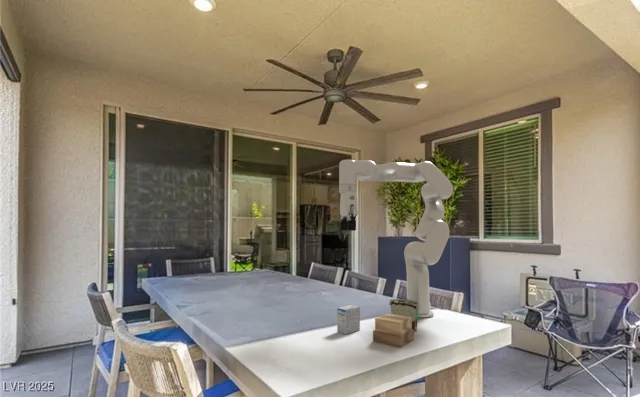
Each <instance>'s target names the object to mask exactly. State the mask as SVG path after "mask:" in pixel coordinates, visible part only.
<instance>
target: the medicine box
mask: <svg viewBox="0 0 640 397" xmlns="http://www.w3.org/2000/svg"><path fill="white" fill-rule="evenodd" d="M360 308H361V307H360V306H357V305H354V304H353V305H351V304H349V305H345V306H341V307H338V308H337V309H336V311H337V312H336V314H337V315H336V317H337V318H336V319H337V320H336V328H337V329H336V331H337V333H339V334H343V335H349V334H352V333H354V332H357V331H360V330H361V329H360V328H361V320H360V319H361V316H360V315H361V309H360Z"/></svg>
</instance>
